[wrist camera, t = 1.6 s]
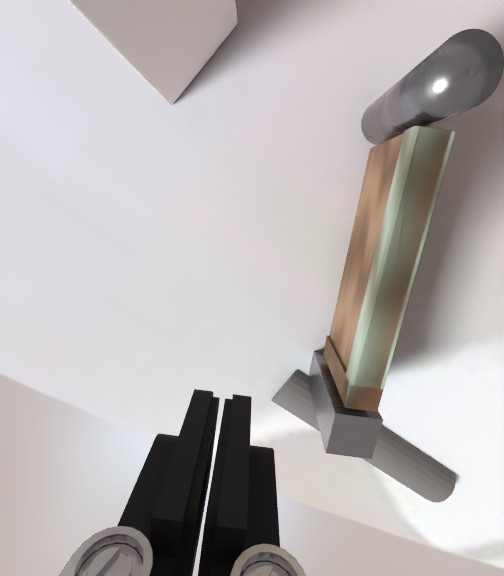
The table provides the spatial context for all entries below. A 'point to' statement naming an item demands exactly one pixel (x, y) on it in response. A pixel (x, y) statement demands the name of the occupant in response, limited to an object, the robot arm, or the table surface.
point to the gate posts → (378, 129)
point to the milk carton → (162, 36)
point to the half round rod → (378, 446)
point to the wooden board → (384, 260)
